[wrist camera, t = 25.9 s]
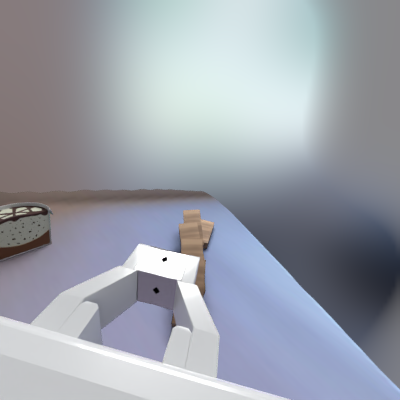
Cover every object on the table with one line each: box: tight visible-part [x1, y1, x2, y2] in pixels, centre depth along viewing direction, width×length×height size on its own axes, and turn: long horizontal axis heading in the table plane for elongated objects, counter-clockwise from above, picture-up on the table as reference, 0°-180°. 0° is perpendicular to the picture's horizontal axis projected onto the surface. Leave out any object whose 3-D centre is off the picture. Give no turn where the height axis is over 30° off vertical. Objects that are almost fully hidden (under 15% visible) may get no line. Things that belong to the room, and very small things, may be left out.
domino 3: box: [181, 239, 205, 295], centre depth 43 cm, size 2×5×12 cm
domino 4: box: [172, 260, 206, 326], centre depth 37 cm, size 2×5×12 cm
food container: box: [0, 203, 53, 261], centre depth 44 cm, size 12×6×10 cm, turn 141°
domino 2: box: [179, 222, 204, 260], centre depth 50 cm, size 2×5×12 cm
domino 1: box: [183, 210, 204, 249], centre depth 56 cm, size 2×5×12 cm
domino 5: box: [201, 220, 214, 249], centre depth 60 cm, size 2×5×12 cm
